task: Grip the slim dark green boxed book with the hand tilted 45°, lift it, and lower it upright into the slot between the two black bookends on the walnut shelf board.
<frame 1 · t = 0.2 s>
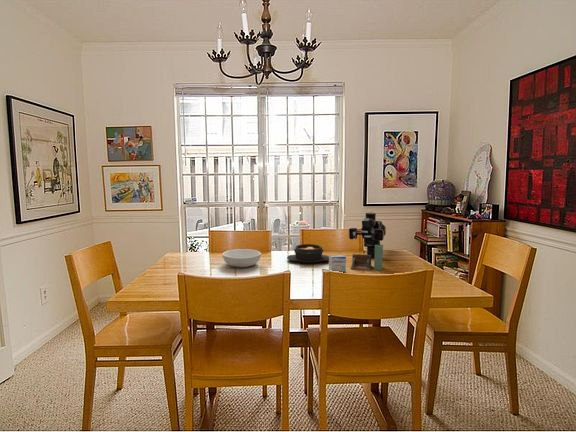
hand: (362, 237, 190), 16 cm above the table, tool horizontal, fingers open, 9 cm apart
medicine box: (337, 272, 183), on the table
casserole: (308, 261, 205), on the table
serving bowl: (242, 265, 196), on the table
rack: (361, 267, 192), on the table
book: (378, 268, 189), on the table
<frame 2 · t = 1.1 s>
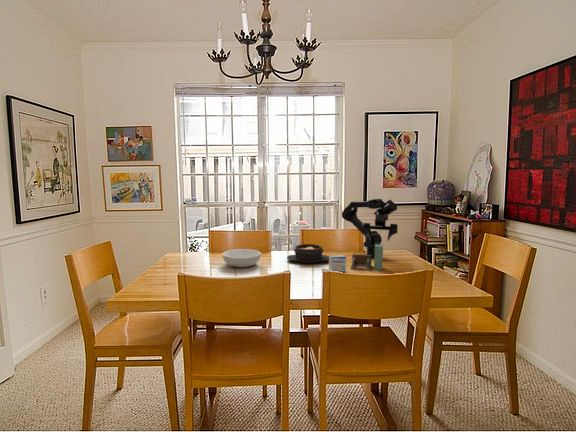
hand: (379, 240, 195), 14 cm above the table, tool tilted 45°, fingers open, 9 cm apart
nothing on the table moved.
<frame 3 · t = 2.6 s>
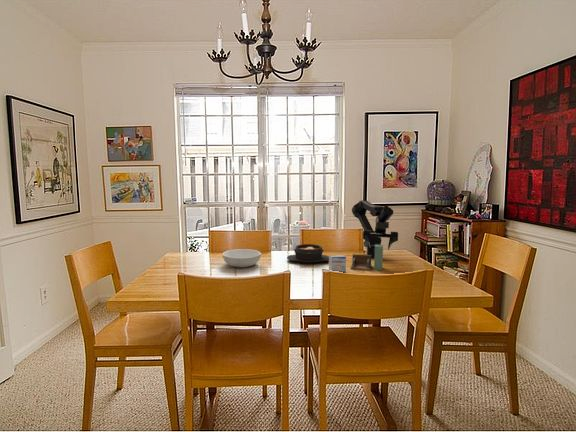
hand: (379, 248, 191), 10 cm above the table, tool tilted 45°, fingers open, 9 cm apart
nothing on the table moved.
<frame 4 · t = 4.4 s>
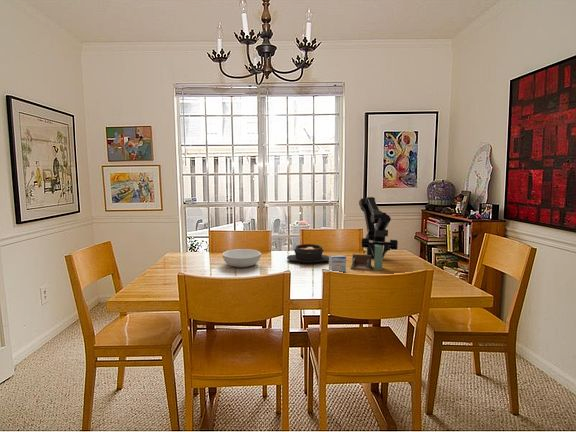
hand: (378, 257, 187), 7 cm above the table, tool tilted 45°, fingers closed on book, 4 cm apart
book: (378, 268, 189), on the table, touching gripper
everything else where it was.
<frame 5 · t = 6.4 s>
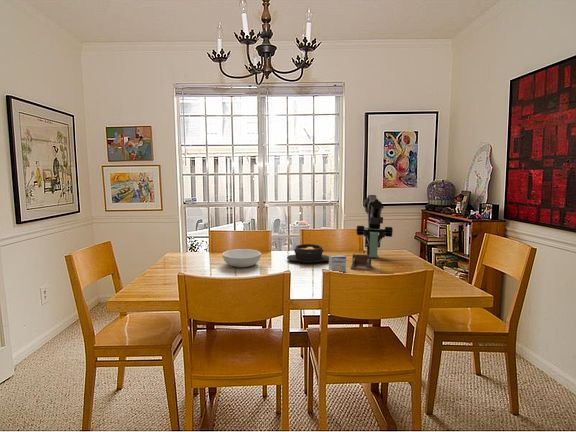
hand: (373, 244, 187), 13 cm above the table, tool tilted 45°, fingers closed on book, 4 cm apart
book: (373, 255, 190), point 7 cm above the table, touching gripper
everything else where it was.
when the fingers open (8 cm above the table, at t = 8.5 s): book stays where it is, resting on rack.
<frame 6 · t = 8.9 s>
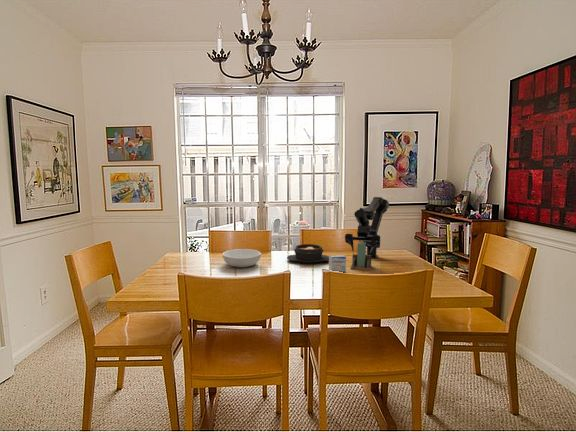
hand: (361, 252, 190), 9 cm above the table, tool tilted 45°, fingers open, 8 cm apart
book: (361, 265, 192), point 1 cm above the table, touching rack
everything else where it was.
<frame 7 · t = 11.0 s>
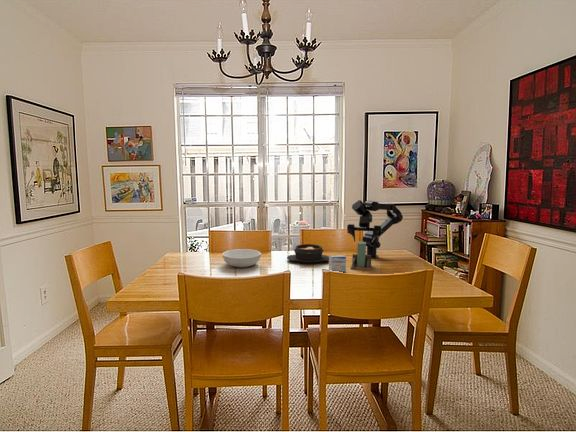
hand: (363, 241, 197), 13 cm above the table, tool tilted 45°, fingers open, 9 cm apart
nothing on the table moved.
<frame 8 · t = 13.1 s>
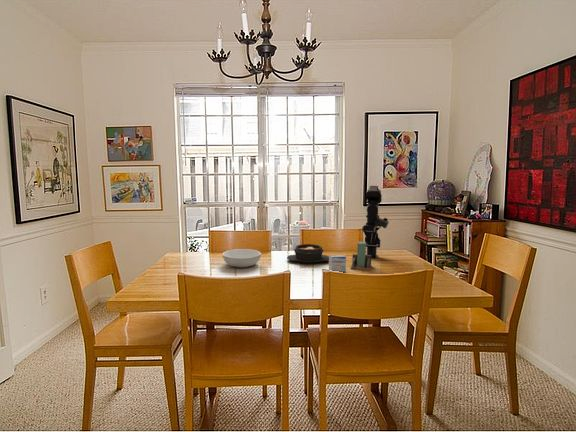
hand: (371, 241, 195), 13 cm above the table, tool pointing down, fingers open, 9 cm apart
nothing on the table moved.
at the end: book 0.0 cm off-centre on the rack, point 1.0 cm above the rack's base; book tilted 0°; the gripper is holding nothing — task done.
